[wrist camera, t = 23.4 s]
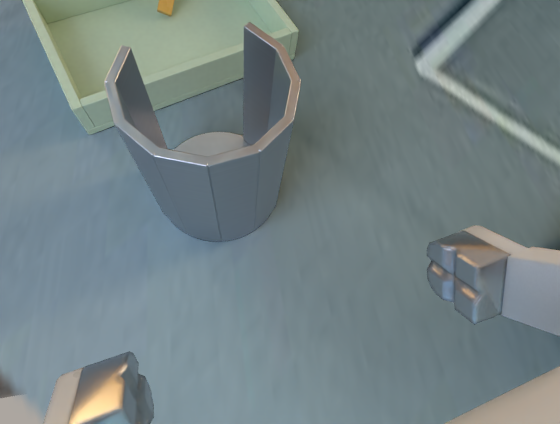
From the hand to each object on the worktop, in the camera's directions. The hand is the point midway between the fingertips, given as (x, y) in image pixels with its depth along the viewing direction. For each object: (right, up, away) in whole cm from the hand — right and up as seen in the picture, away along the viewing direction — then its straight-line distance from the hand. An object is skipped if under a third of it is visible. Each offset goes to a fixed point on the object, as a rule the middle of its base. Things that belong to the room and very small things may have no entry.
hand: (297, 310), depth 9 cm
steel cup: (-4, +4, +13) cm, 14 cm away
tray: (-8, +15, +17) cm, 24 cm away
